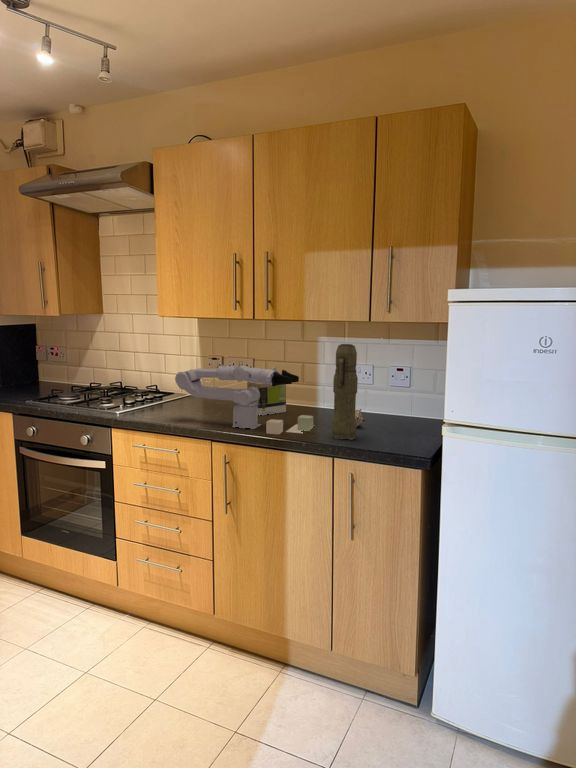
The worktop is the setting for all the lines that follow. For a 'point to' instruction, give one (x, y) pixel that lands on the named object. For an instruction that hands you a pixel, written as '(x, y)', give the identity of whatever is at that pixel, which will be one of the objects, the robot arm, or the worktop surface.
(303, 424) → the pale green cube
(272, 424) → the cream brick
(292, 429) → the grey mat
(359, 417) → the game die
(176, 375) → the robot arm
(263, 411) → the tea box
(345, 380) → the stone moai statue
